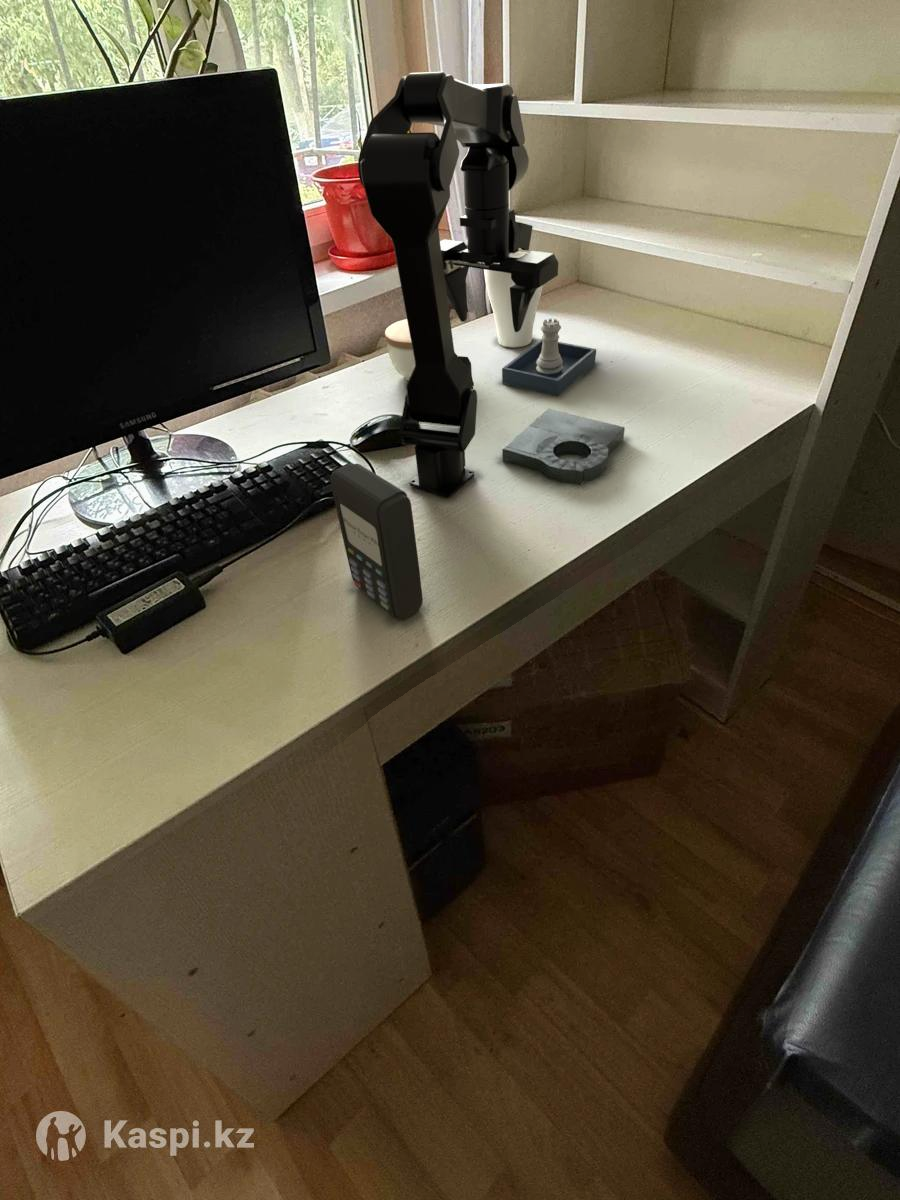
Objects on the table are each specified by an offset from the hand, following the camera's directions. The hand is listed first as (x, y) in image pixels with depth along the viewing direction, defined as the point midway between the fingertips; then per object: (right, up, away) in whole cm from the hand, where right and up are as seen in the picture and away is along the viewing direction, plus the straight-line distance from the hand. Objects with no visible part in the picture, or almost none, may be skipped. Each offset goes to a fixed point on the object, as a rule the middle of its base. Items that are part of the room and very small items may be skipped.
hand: (490, 325), depth 99 cm
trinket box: (-11, -2, +17) cm, 20 cm away
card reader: (-13, -40, -23) cm, 48 cm away
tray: (+11, -2, +14) cm, 18 cm away
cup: (+6, +7, +25) cm, 27 cm away
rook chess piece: (+11, -2, +14) cm, 18 cm away
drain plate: (+10, -19, -4) cm, 22 cm away
